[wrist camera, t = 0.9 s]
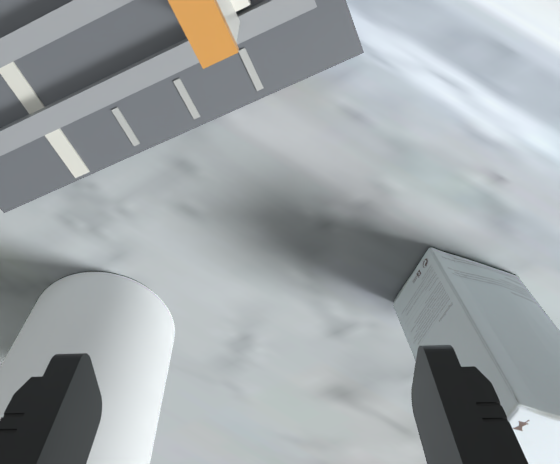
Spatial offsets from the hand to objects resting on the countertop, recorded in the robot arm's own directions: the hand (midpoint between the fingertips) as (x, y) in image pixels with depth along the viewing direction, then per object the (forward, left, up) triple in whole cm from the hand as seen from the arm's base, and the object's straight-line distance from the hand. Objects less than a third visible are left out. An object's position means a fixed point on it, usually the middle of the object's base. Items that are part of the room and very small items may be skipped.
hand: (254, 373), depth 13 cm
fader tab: (-1, -6, -20) cm, 21 cm away
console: (+5, -6, -23) cm, 24 cm away
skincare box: (-8, +20, -23) cm, 31 cm away
